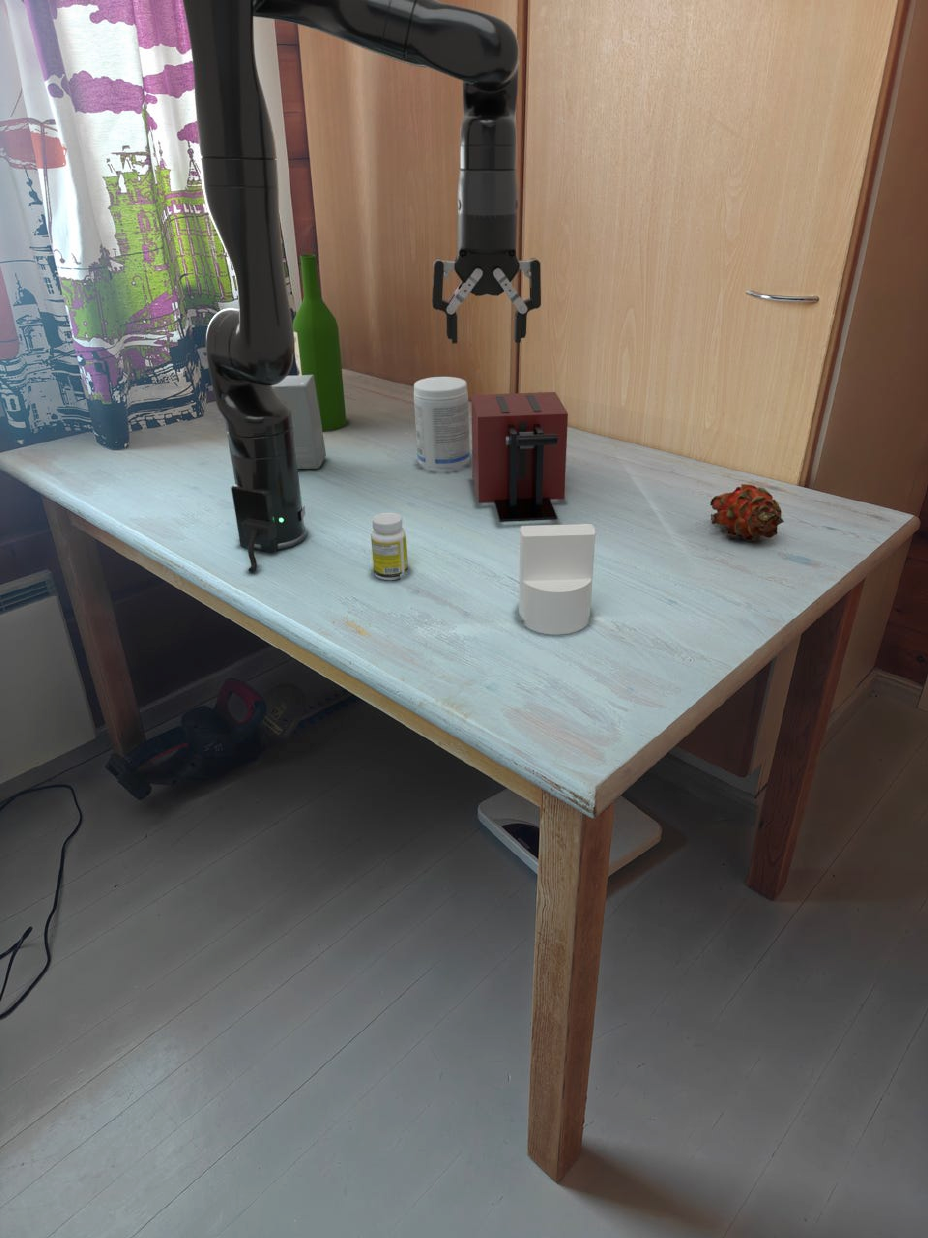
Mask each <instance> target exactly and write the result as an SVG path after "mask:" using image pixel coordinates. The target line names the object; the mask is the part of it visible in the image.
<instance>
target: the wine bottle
mask: <svg viewBox="0 0 928 1238" xmlns="http://www.w3.org/2000/svg"><path fill="white" fill-rule="evenodd" d="M299 258H300V269H301V280H302V290H303V299H302V302H301V304H300V305H299V308H298V309H297V312H296V314H295V316H294V318H293V320H292V325H293V331H294V341H295V353H294V359H295V367H296V376H298V375H314V379H315V386H316V392H317V399H318V406H319V412H320V419H321V425H322V432H329V431H334V430H338V429H342V428H343V427H345V426H346V424H347V413H346V401H345V399H346V398H345V389H344V377H343V365H342V357H341V355H342V354H341V345H340V343H341V342H340V333H339V325H338V322H337V318H336V317H335V316H334V313H332V312H331V310H330V309H329V307H328V305H326V303H325V302H324V300H323V299H322V296H321V291H320V290H321V289H320V282H319V273H318V272H319V271H318V264H317V255H316V254H301V255H299Z"/></svg>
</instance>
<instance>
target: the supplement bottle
mask: <svg viewBox="0 0 928 1238" xmlns="http://www.w3.org/2000/svg"><path fill="white" fill-rule="evenodd" d="M370 539H371V553H372V561H373V562H372V564H373V573H374V576H375V577H376V578H377V579H379V580H383V581H398V580H400V579H401V575H402V574H404V573H405V572H407V570H408V569H409V566H408V565H409V564H408V549H407V533H406V530H405V528H403V517H402V516H401V514H399V513H396V512H381V513H378V514H375V515H374V516H373V517H372V531H371V534H370Z"/></svg>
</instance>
